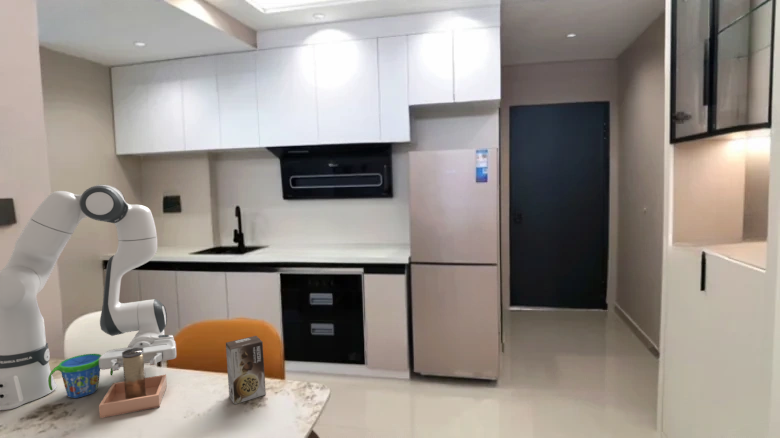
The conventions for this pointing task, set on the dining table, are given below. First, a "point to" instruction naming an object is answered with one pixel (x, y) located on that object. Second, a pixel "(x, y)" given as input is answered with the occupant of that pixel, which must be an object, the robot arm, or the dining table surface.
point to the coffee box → (245, 369)
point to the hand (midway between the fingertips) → (134, 365)
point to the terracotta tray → (119, 405)
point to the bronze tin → (134, 373)
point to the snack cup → (79, 375)
